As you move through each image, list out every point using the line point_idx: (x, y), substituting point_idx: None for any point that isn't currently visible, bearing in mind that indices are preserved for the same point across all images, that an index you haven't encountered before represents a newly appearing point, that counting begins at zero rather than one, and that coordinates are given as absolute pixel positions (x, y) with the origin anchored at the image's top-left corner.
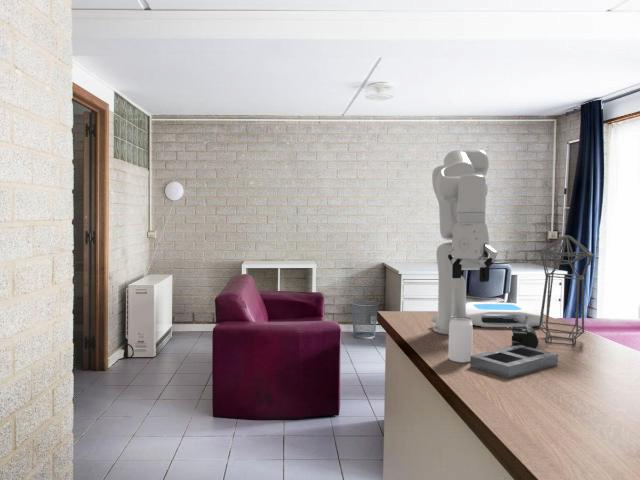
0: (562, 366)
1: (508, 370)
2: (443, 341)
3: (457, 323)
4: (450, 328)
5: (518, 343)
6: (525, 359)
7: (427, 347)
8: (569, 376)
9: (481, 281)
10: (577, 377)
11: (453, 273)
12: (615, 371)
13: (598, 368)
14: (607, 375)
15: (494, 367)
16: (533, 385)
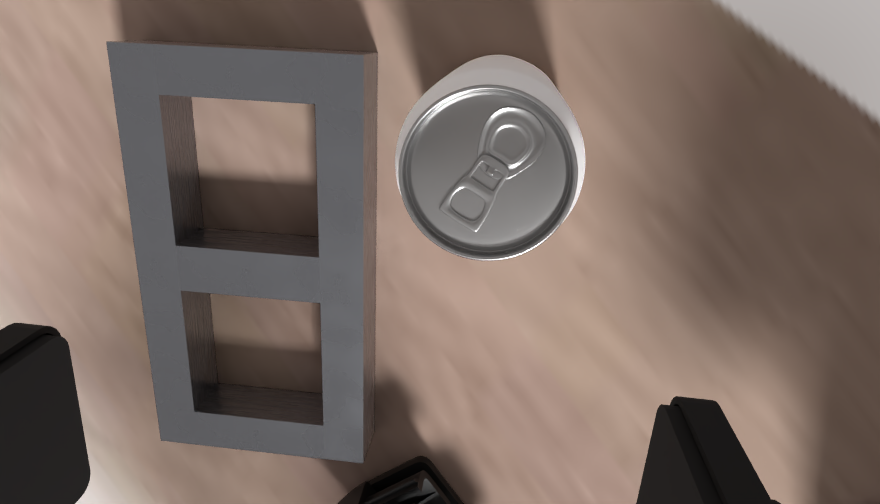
0: None
1: (121, 41)
2: (805, 377)
3: (458, 83)
4: (528, 72)
5: (395, 494)
6: (162, 238)
7: (801, 193)
8: (54, 293)
9: (20, 325)
10: (33, 305)
11: (708, 450)
12: None
13: None
14: None
15: (207, 45)
16: (24, 45)
